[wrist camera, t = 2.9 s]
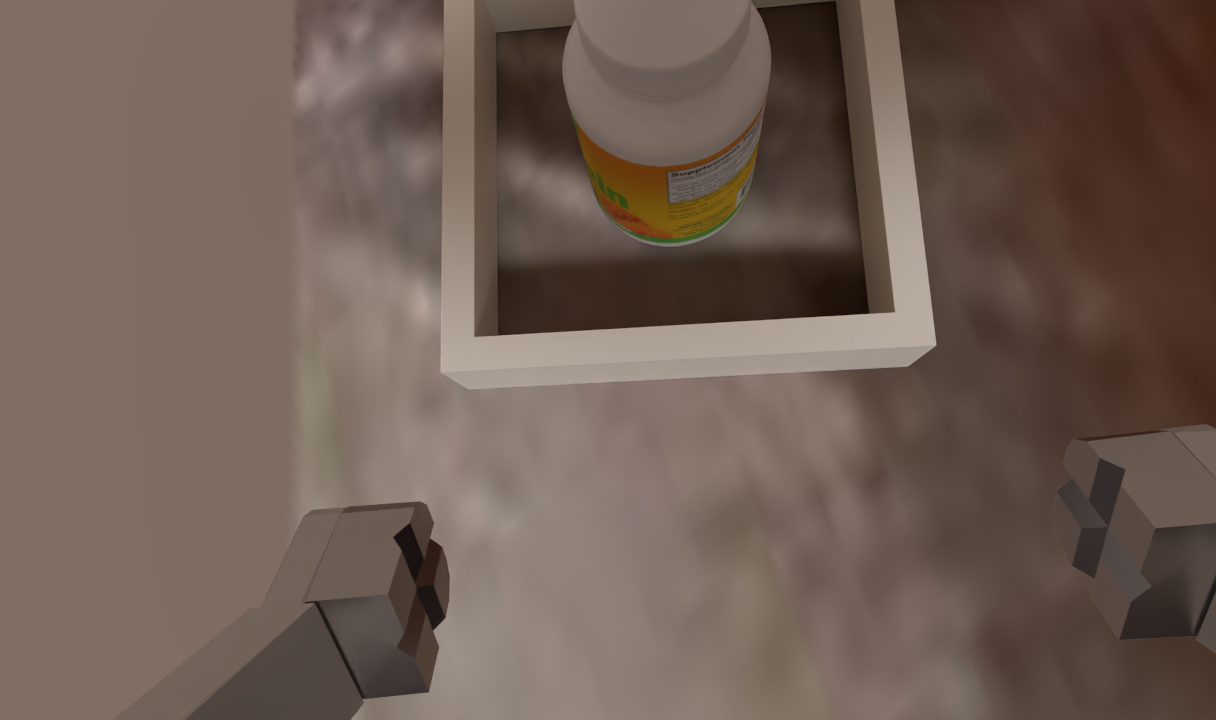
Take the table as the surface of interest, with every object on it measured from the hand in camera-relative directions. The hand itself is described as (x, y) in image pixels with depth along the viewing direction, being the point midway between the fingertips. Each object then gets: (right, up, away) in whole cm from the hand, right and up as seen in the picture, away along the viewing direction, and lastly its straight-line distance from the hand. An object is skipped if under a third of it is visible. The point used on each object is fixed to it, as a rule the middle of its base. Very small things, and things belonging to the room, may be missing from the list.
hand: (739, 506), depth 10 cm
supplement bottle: (0, +8, +17) cm, 19 cm away
